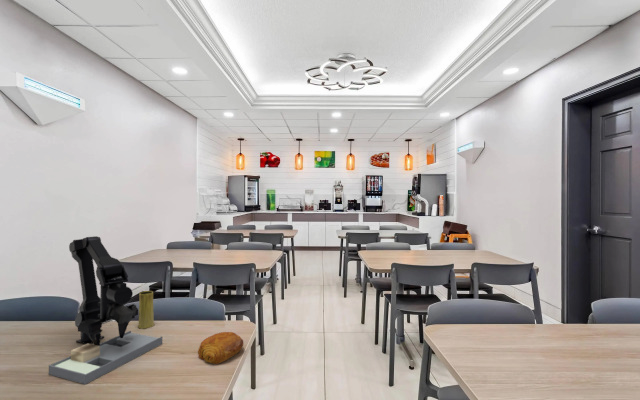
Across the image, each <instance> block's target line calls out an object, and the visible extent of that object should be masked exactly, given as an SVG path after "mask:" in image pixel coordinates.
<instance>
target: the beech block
mask: <svg viewBox="0 0 640 400" xmlns="http://www.w3.org/2000/svg"><path fill="white" fill-rule="evenodd" d="M98 355H100V346H98V345H94V344H93V343H91V344H82V345H81V346H78V347H77V348H73V349H71V350H70V356H71V360H74V361H78V362H82V363H83V362H86V361H88V360H90V359H92V358H94V357H96V356H98Z"/></svg>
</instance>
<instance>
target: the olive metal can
mask: <svg viewBox="0 0 640 400" xmlns="http://www.w3.org/2000/svg"><path fill="white" fill-rule="evenodd" d="M138 296H139V297H138V298H139V299H138V301H139V302H138V322H137V328H138V329H140V330H141V329H142V330H145V329H149V328H151V327H154V325H155V321H154V319H155V318H154V317H155V315H154V291H152V290H144V291H140V292H139V294H138Z"/></svg>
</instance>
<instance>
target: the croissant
mask: <svg viewBox="0 0 640 400" xmlns="http://www.w3.org/2000/svg"><path fill="white" fill-rule="evenodd" d="M243 346H244V339H243V338H242V337H241V336H240V335H238V334H237V333H235V332H232V331H222V332H217V333H215V334H213V335H212V334H211V335H210V336H208V337H206V338H205V339H203V340H202V341H201V342H200V344H199V347H198V350H197V354H198V358H199V359H201V360H203V361H204V362H206V363H208V364H213V365H216V364H217V365H218V364H222V363H224V362H226V361H228V360H229V359H231V358H232V357H234V356H235V355H238V353H239V352H240V351H241V350H242V348H243Z"/></svg>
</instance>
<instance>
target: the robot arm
mask: <svg viewBox="0 0 640 400" xmlns="http://www.w3.org/2000/svg"><path fill="white" fill-rule="evenodd" d="M68 247H69V252H70V253H71V257H72V258H73V260H74V261H75V262H77V263H78V273H79V279H80V286H81V294H82V301H81V303H80V306H79V307H78V313H77V315H76V316H75V319H74V324H75V325H74V326H75V327H76V328H77V332H80V339H77V340H76V341H75V342H76V343H79V344H82V345H85V344H93V345H98V346H100V343H101V340H103V339H104V338H105V336H103V335H102V333H103V332H102V331H103V329H102V326H103V324H104V325H105V324H107V323H109V322H112V321H115V322H116V323H117V328H118V336H119V335H120V338H123V337H124V334H125V333H126V331H127V329H128V327H129V326H128V325H129V324H130V322H131V321H132V320H134V319H135V318H136V316H139V308H137V305H136V304H135V303H133V304H129V305H124V304H126V303H128V302H129V301H130V300H131V299H132V298H133V290H132V289H131V288H130V287H129V286H127V283H126V282H128V281H129V279H128V278H129V276H128V273H127V271H126V269H125V266H124V265H123V263H122V261H119V259H118V258H115V257H112V256H111V254H110V253H109V252H108V250H107V248H105V246H104V245H103V243H102V239H101V237H100V236H86V237H84V238H80V239H74V240H72V241H71V242H70V243H69V245H68ZM94 263H95V265H96V269H95V266H94ZM96 278H97V280H98V281H99V282H98V283H99V284H98V285H100V293H99V294H98V287H97V280H96ZM99 295H100V296H99Z"/></svg>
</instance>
